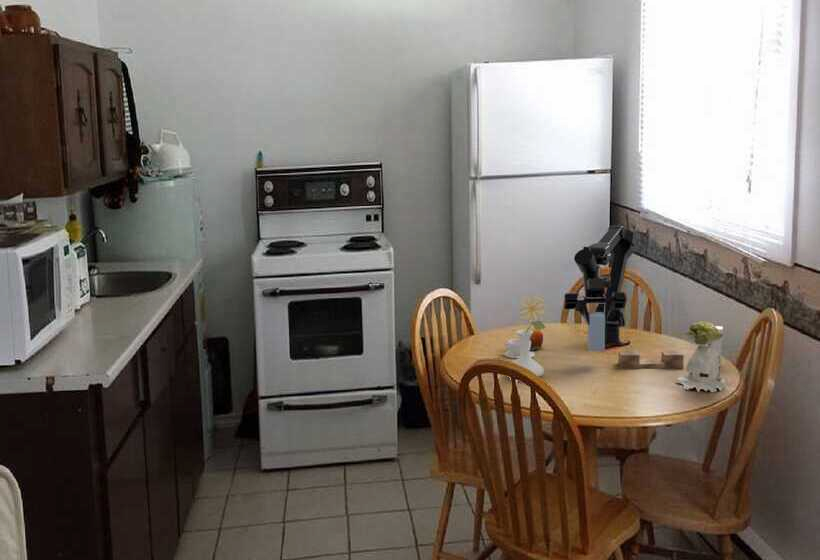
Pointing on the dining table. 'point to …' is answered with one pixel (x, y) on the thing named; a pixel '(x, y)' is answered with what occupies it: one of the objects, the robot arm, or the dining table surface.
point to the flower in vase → (530, 311)
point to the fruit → (536, 339)
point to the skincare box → (718, 344)
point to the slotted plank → (651, 360)
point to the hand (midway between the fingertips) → (597, 324)
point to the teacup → (516, 348)
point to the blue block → (596, 331)
